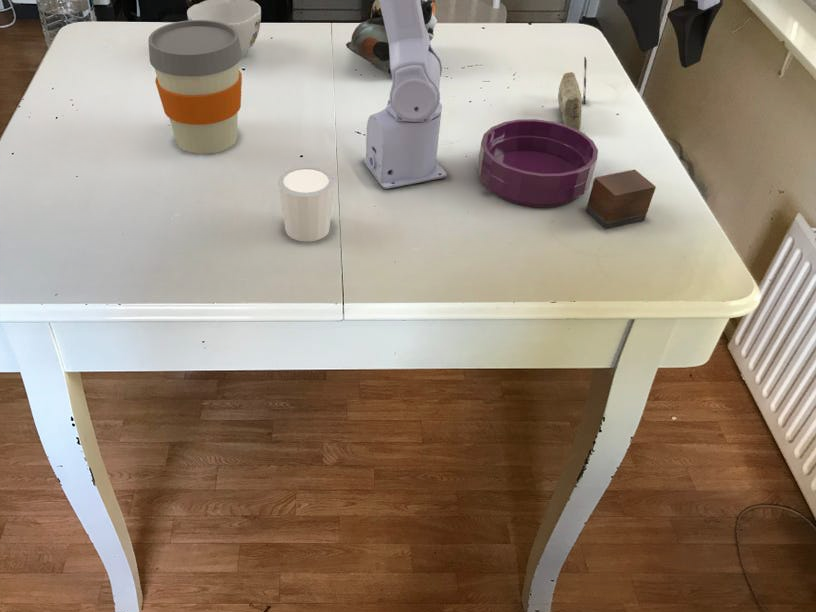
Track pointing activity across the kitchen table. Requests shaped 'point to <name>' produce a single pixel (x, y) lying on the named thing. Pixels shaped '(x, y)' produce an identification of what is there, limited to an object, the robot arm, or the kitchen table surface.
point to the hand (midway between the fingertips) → (669, 55)
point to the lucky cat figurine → (383, 36)
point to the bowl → (536, 162)
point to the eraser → (620, 198)
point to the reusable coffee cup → (199, 82)
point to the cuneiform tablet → (571, 99)
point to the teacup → (231, 18)
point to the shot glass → (306, 202)
